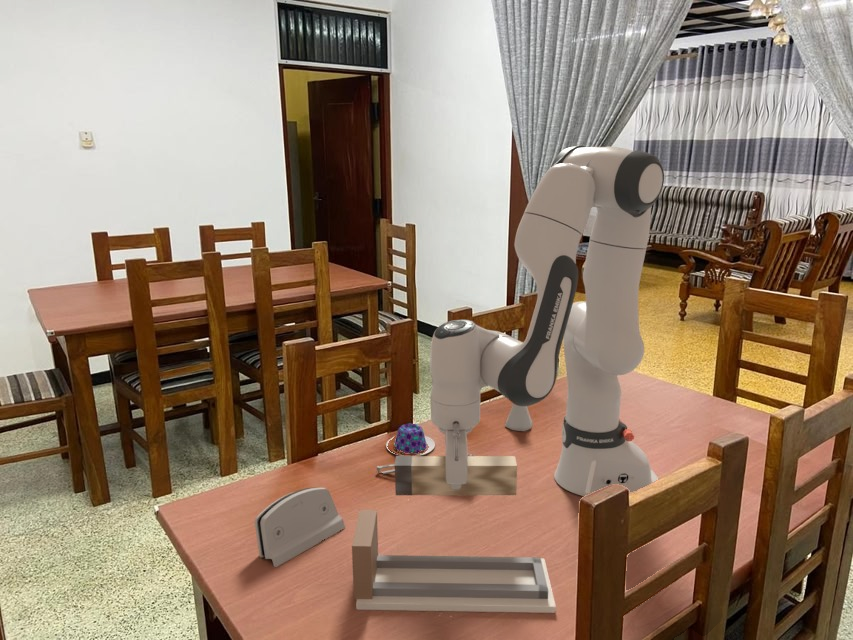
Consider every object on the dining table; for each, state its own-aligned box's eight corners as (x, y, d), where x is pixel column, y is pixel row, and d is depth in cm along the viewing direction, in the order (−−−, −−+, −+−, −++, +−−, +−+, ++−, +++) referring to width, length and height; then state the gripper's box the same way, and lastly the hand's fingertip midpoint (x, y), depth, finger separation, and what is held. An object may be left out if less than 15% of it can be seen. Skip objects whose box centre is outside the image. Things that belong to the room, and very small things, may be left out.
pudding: (398, 463, 148) (398, 443, 147) (378, 442, 159) (377, 423, 157) (443, 452, 154) (443, 432, 152) (421, 432, 164) (421, 413, 162)
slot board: (543, 564, 113) (547, 509, 110) (555, 612, 102) (559, 553, 99) (362, 561, 114) (360, 506, 111) (353, 609, 103) (350, 550, 99)
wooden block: (514, 484, 119) (514, 455, 117) (516, 495, 116) (517, 465, 114) (397, 484, 120) (396, 455, 118) (395, 495, 116) (394, 465, 114)
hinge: (274, 568, 112) (259, 514, 112) (260, 565, 116) (246, 512, 115) (346, 527, 124) (333, 478, 124) (332, 525, 127) (319, 477, 127)
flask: (537, 424, 168) (538, 388, 165) (525, 434, 162) (527, 398, 159) (512, 417, 172) (513, 383, 169) (500, 427, 166) (501, 392, 163)
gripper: (476, 437, 103) (475, 512, 107) (470, 388, 123) (470, 453, 127) (437, 438, 103) (438, 512, 107) (438, 388, 123) (438, 453, 127)
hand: (455, 479), depth 117 cm, fingers closed on wooden block, 3 cm apart
